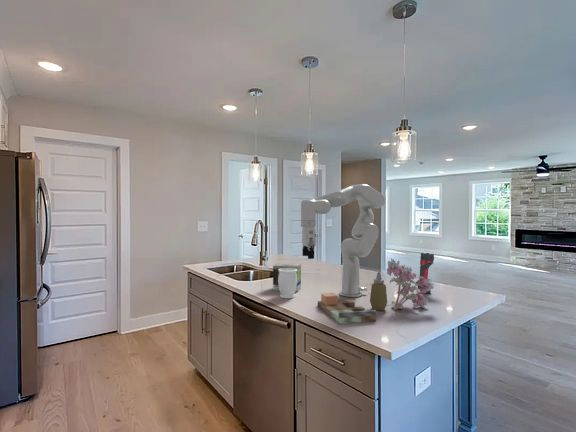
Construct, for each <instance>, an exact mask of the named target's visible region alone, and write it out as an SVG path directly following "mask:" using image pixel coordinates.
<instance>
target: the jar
mask: <svg viewBox="0 0 576 432" xmlns="http://www.w3.org/2000/svg"><path fill="white" fill-rule="evenodd" d="M278 271H279V276H278V284H279V290H280V291H279V290H278V291H279V293H280V294H279V297H280V298H282V299H294V298H295V297H296V294H295V293H296V292H295V291H296V286H297V274H296V272H297V269H295V268H280V269H278Z"/></svg>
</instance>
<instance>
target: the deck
mask: <svg viewBox="0 0 576 432" xmlns="http://www.w3.org/2000/svg"><path fill="white" fill-rule="evenodd" d="M355 303H356V302H355V301H353V300H351V299H350V298H348V299H347V298H345V299H343V298H342V299H338V304H332V305H325V304H324V303H323V302H321V300H317V307H318V308H319V309H321V310H322V311H323V312H324V313H325V314H326V315H327V316H329V317H330V318H331V319H332V320H333V321H335V322H336V323H337V324H338V325H344V324H356V323H357V324H359V323H369V322H370V323H371V322H377V310H374V309H370V310H366V309H365V307H363V306H356V305H355Z"/></svg>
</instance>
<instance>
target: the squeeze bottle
mask: <svg viewBox="0 0 576 432" xmlns="http://www.w3.org/2000/svg"><path fill="white" fill-rule="evenodd" d="M370 289H371V290H370V295H369V296H370V297H369V303H370V306H371V310H376V311H377V312H378V311H385V310H386V307H387V304H388V295H387V286H386V284H385V279H383V278H382V274H381V272H380V271H377V273H376V277H375V278H373V283H372V284H371V288H370Z"/></svg>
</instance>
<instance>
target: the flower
mask: <svg viewBox="0 0 576 432" xmlns="http://www.w3.org/2000/svg"><path fill="white" fill-rule="evenodd" d="M386 271H387V272H386V273H387V275H389V276H390V277H391V276H392V274H393V275H394V277H391V278H390V279H389V284H391V282H392V283H393V282H395V283H396V284H395V286H398V289H397V292H396V294H397V298H396V301H394V300H391V306H392V307H393V309H392V311H396V310H397V309H401V310H403V308H404V305H403V304H405V303H406V302H407V300H410V301H411V302H412V303H413V304H412V305H413V306H414V307H417V308H418V307H421V308H422V309H424V308H425V307H426V306H428V299H426V298H425V296H424V294H427V293H426V292H427V291H432V290H433V289H435V287H434V286H435V284H434V282H433V281H431V280H432V279H431V278H428V279H427V280H425V278H424V277H420V276H419V277H418V279H417V280H416V281H414V279H415V278H417V274H416V272H412V271H413V269H412V268H411V266H407V267H406V265H405V264H403V265H400V260H399V259H398V260H397V261H396V260H395V258H392V257H391V258H390V259H389V260H388V261H387V268H386ZM420 279H421V280H422V281H420ZM412 284H414V285H412ZM418 286H420V287H422V288H421V289H418ZM401 287H402V288H401ZM415 291H416V292H417V293H415ZM410 292H411V293H410ZM409 293H410V294H409ZM400 295H401V296H403V297H402V298H401V299H400Z"/></svg>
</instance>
